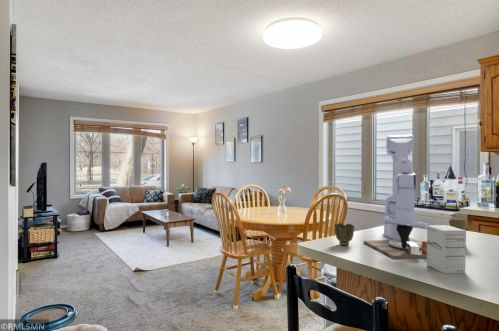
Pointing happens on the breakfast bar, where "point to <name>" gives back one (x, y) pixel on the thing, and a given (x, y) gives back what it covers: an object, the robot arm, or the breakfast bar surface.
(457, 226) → the cork
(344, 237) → the cup
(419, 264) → the breakfast bar surface
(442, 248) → the supplement box
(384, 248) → the board
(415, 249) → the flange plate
